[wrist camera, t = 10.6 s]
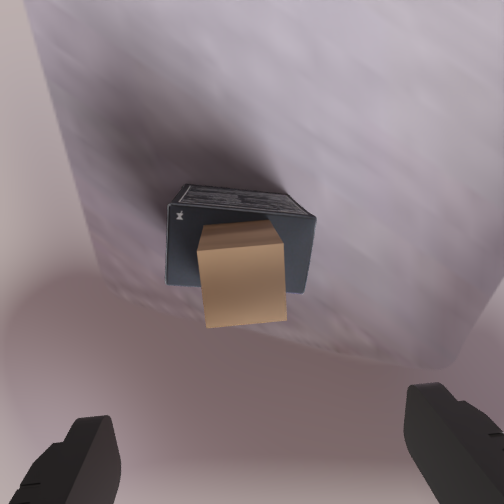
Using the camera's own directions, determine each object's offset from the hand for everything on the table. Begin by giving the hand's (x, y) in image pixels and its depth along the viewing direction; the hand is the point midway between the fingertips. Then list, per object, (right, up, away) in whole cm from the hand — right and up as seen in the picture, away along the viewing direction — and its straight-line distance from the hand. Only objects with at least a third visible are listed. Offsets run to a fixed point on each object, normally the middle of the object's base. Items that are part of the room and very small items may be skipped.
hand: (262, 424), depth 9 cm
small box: (-2, +8, +25) cm, 26 cm away
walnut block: (-1, +5, +15) cm, 16 cm away
